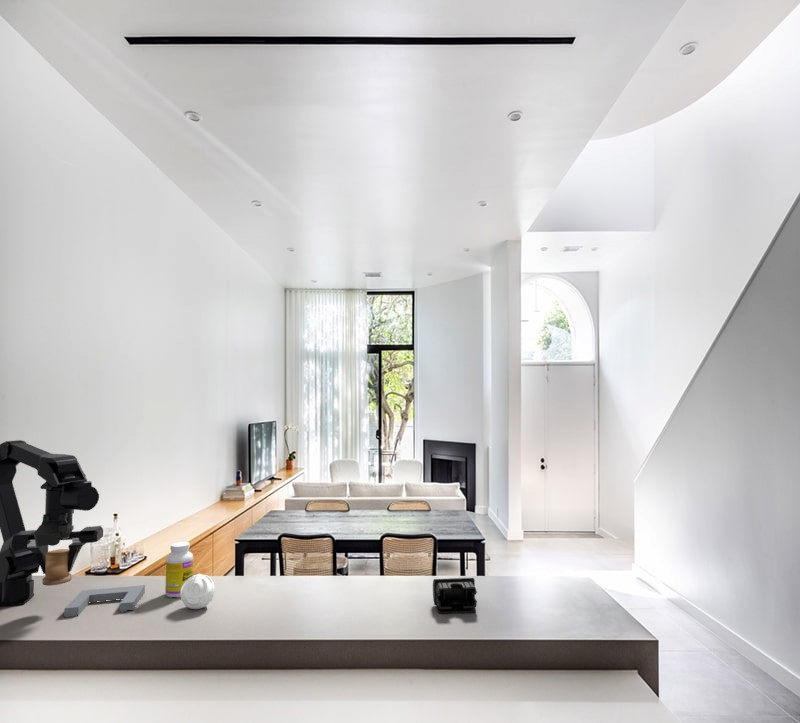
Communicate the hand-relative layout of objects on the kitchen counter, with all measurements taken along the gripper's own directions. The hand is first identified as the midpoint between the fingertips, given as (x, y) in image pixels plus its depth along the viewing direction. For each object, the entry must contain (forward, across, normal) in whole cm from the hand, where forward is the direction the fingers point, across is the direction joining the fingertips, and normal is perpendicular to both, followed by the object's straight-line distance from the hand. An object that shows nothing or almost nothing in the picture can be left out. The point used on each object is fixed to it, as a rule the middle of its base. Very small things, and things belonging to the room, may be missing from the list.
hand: (57, 572), depth 132 cm
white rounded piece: (+9, +33, -7) cm, 35 cm away
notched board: (+9, +11, +1) cm, 14 cm away
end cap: (+10, +94, -23) cm, 98 cm away
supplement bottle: (+9, +27, +4) cm, 29 cm away
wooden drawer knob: (+2, 0, 0) cm, 2 cm away
